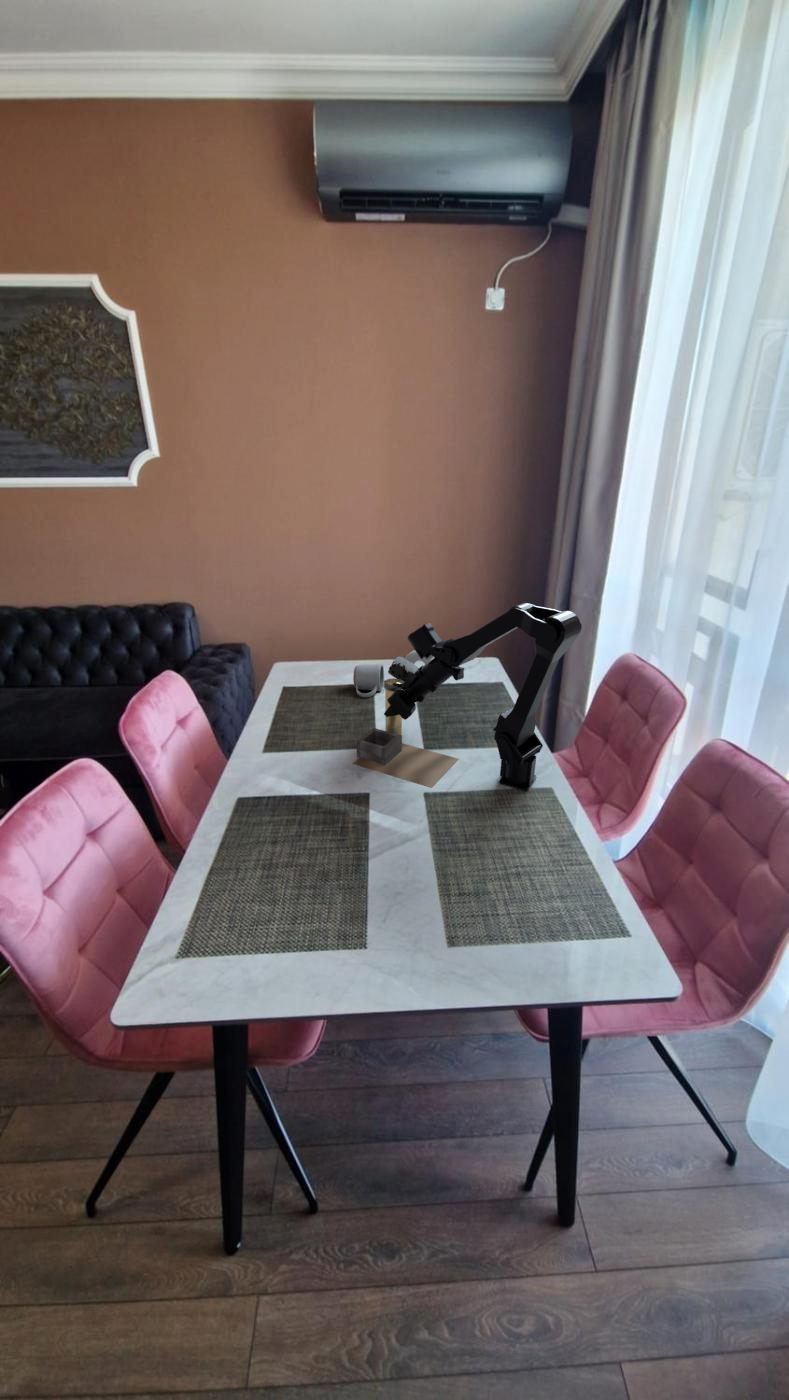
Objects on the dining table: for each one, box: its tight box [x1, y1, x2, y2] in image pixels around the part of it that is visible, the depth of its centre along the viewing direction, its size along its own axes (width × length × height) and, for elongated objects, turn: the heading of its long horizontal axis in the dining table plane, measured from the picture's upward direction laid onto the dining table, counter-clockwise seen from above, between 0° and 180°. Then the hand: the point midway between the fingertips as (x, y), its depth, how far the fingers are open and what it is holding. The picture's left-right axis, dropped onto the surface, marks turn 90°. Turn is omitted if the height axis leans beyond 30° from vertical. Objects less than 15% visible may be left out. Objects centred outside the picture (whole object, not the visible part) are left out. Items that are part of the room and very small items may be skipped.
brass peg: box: [383, 678, 404, 736], centre depth 146 cm, size 5×5×14 cm
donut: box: [404, 649, 435, 665], centre depth 182 cm, size 10×4×10 cm, turn 84°
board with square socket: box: [351, 727, 460, 789], centre depth 137 cm, size 21×14×6 cm
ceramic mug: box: [352, 663, 385, 698], centre depth 176 cm, size 11×8×8 cm
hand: (388, 711), depth 147 cm, fingers closed on brass peg, 4 cm apart
